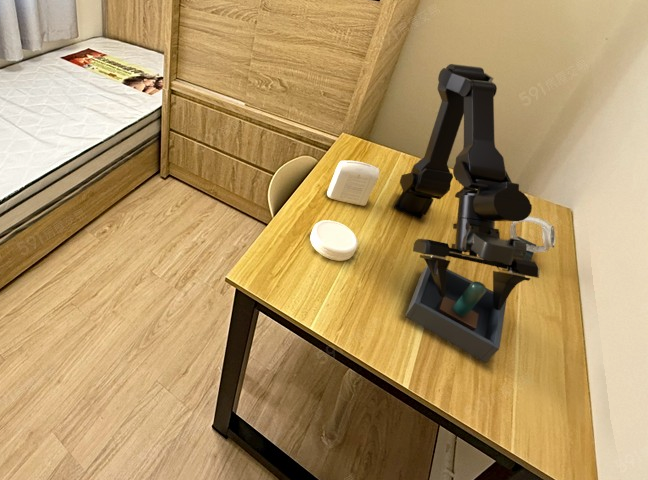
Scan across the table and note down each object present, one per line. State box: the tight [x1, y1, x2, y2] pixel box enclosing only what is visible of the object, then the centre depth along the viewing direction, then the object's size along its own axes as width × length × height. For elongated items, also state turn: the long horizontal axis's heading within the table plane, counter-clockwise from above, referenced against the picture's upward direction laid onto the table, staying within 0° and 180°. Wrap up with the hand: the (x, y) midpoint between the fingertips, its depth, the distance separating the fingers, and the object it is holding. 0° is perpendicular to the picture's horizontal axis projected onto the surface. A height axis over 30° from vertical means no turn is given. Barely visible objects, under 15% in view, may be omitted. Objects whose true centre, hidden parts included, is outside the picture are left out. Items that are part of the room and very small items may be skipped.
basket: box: [404, 264, 508, 364], centre depth 81 cm, size 14×14×5 cm
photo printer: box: [326, 160, 380, 207], centre depth 107 cm, size 10×4×12 cm, turn 73°
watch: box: [509, 215, 556, 261], centre depth 92 cm, size 6×8×11 cm
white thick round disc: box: [309, 219, 359, 262], centre depth 96 cm, size 10×10×4 cm
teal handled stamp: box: [435, 280, 487, 331], centre depth 77 cm, size 6×4×12 cm, turn 49°
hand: (469, 303), depth 76 cm, fingers open, 9 cm apart
